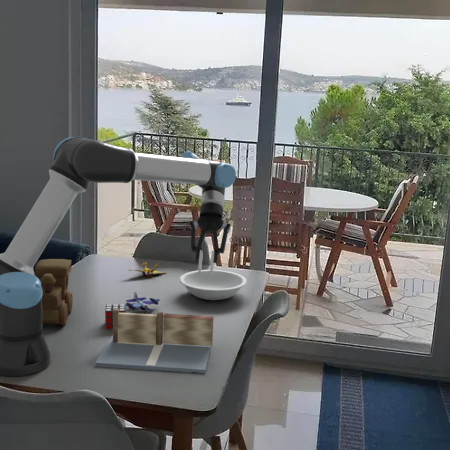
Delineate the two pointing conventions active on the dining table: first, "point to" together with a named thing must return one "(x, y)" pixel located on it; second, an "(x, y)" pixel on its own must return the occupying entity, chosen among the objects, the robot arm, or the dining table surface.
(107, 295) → the dining table surface
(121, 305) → the puzzle toy
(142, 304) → the toy airplane
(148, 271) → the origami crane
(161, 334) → the fence fixed section
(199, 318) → the fence panel
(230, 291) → the soup bowl
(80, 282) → the dining table surface
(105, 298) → the dining table surface
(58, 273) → the wooden toy train
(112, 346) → the board
